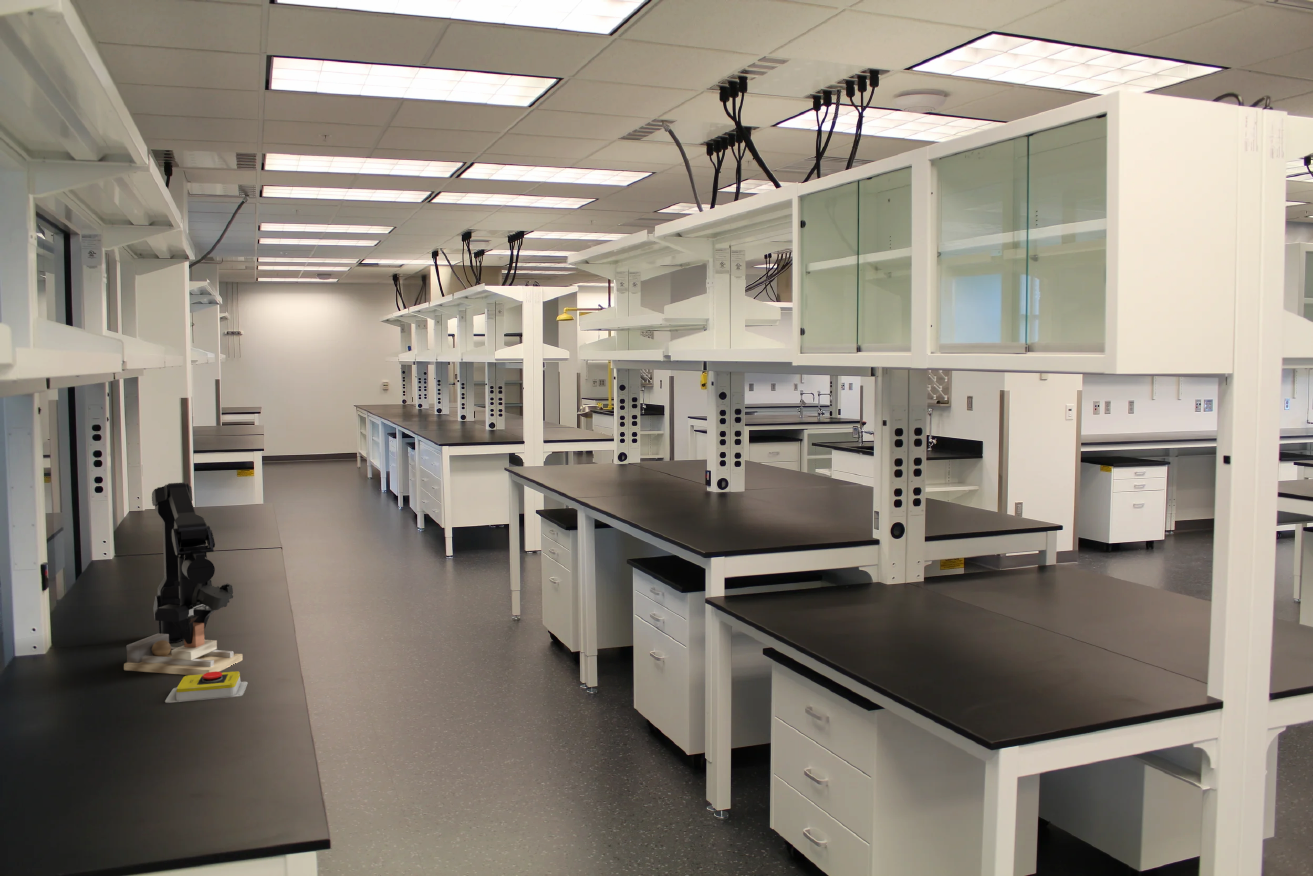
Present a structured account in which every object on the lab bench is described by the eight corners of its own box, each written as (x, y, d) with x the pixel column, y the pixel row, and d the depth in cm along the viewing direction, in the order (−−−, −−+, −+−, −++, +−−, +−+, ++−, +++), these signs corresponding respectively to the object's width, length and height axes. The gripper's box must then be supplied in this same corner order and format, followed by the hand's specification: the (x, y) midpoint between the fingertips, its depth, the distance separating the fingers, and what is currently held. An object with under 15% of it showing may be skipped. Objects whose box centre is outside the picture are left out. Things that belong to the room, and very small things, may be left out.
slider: (171, 659, 209) (170, 629, 208) (198, 647, 218) (197, 618, 217) (191, 660, 208) (190, 630, 207) (216, 648, 217) (216, 619, 216)
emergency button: (241, 678, 193) (163, 685, 189) (242, 698, 193) (164, 705, 189) (247, 664, 202) (172, 671, 198) (248, 684, 202) (173, 690, 198)
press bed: (124, 670, 210) (123, 646, 209) (161, 654, 221) (160, 632, 221) (209, 676, 206) (208, 652, 205) (242, 660, 217) (242, 637, 217)
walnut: (148, 659, 213) (147, 642, 213) (160, 654, 217) (159, 637, 216) (163, 660, 212) (162, 643, 212) (175, 655, 216) (174, 638, 216)
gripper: (196, 586, 201) (198, 655, 202) (248, 568, 219) (250, 632, 220) (151, 584, 203) (153, 652, 204) (207, 567, 221) (208, 630, 222)
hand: (194, 641), depth 213 cm, fingers closed on slider, 3 cm apart
